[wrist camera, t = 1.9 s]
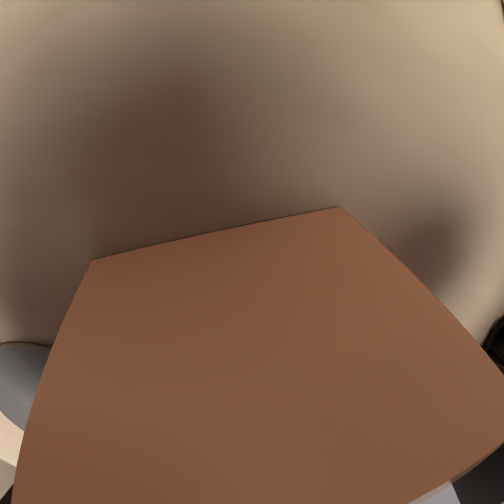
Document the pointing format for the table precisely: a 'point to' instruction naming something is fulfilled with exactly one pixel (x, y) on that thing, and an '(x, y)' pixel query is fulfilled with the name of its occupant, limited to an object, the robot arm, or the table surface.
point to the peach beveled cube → (258, 377)
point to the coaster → (20, 378)
